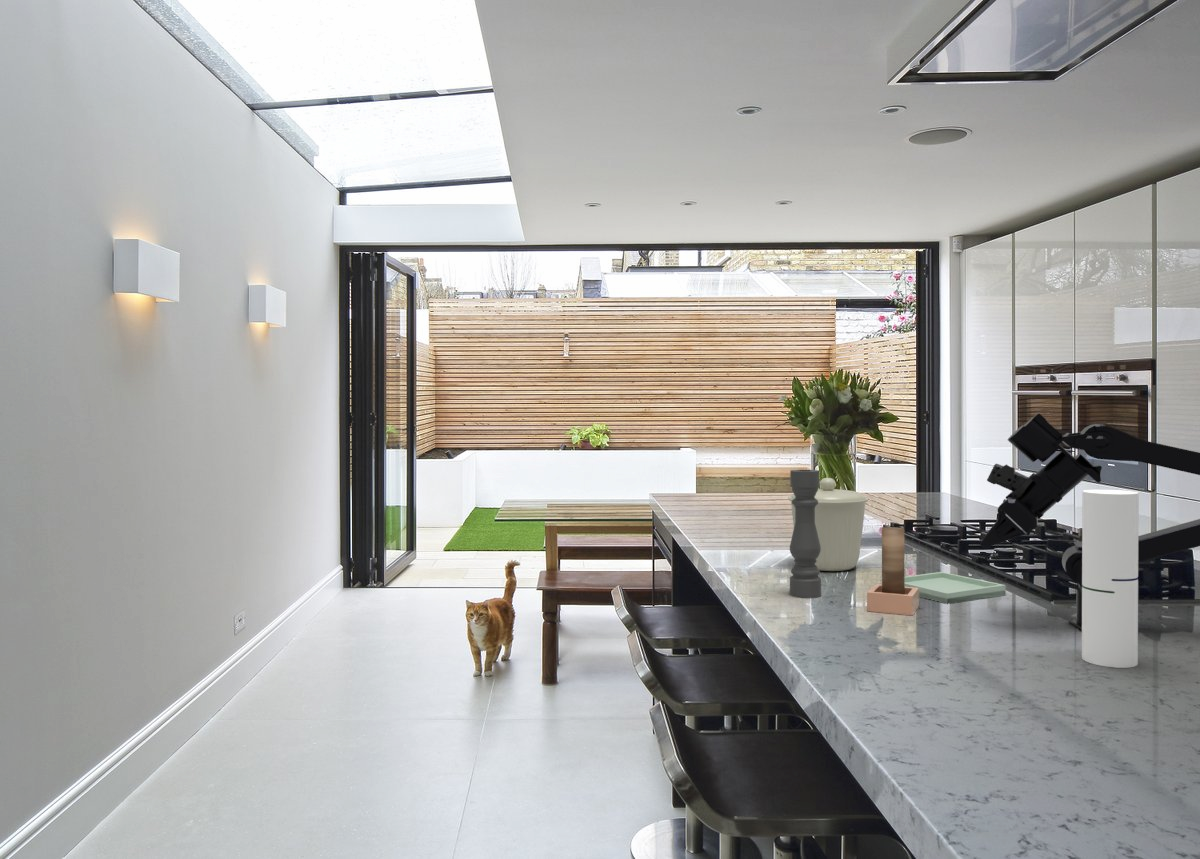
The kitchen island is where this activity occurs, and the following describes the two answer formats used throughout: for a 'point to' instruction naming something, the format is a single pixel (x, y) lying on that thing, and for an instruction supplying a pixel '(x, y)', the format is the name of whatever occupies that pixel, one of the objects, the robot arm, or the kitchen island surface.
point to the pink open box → (893, 601)
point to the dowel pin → (893, 560)
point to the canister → (837, 526)
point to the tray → (953, 587)
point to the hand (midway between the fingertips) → (984, 542)
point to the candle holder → (805, 535)
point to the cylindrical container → (1110, 577)
